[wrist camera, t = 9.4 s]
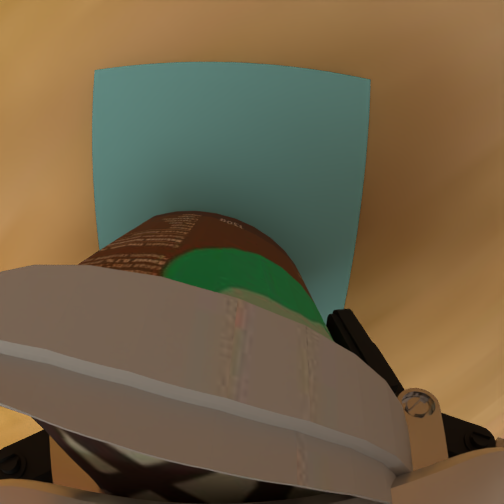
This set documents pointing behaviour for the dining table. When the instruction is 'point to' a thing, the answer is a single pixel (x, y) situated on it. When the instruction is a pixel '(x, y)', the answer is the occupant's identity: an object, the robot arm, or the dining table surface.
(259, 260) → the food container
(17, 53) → the dining table surface
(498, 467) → the robot arm
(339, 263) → the mat
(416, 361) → the dining table surface
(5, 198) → the dining table surface
